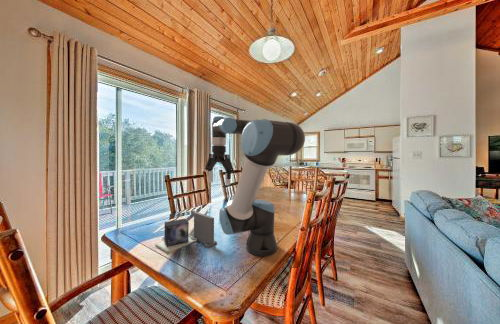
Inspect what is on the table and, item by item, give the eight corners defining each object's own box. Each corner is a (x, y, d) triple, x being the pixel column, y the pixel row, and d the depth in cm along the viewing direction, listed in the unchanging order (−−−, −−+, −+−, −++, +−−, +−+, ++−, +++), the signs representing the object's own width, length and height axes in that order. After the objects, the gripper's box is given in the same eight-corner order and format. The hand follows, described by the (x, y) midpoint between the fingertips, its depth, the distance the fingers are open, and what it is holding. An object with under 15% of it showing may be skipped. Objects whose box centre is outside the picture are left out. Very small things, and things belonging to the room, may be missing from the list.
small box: (166, 247, 93) (166, 226, 93) (164, 242, 99) (163, 221, 98) (189, 242, 99) (189, 221, 98) (185, 237, 104) (185, 218, 104)
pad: (197, 240, 102) (197, 238, 102) (167, 253, 89) (167, 251, 89) (184, 234, 109) (184, 233, 109) (155, 245, 96) (155, 243, 96)
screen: (217, 243, 99) (217, 216, 98) (208, 248, 95) (208, 219, 94) (199, 235, 108) (199, 210, 107) (190, 239, 103) (190, 213, 102)
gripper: (240, 145, 103) (240, 185, 105) (209, 145, 118) (209, 180, 120) (231, 145, 97) (230, 187, 99) (199, 145, 112) (199, 181, 114)
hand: (218, 183), depth 109 cm, fingers open, 13 cm apart
